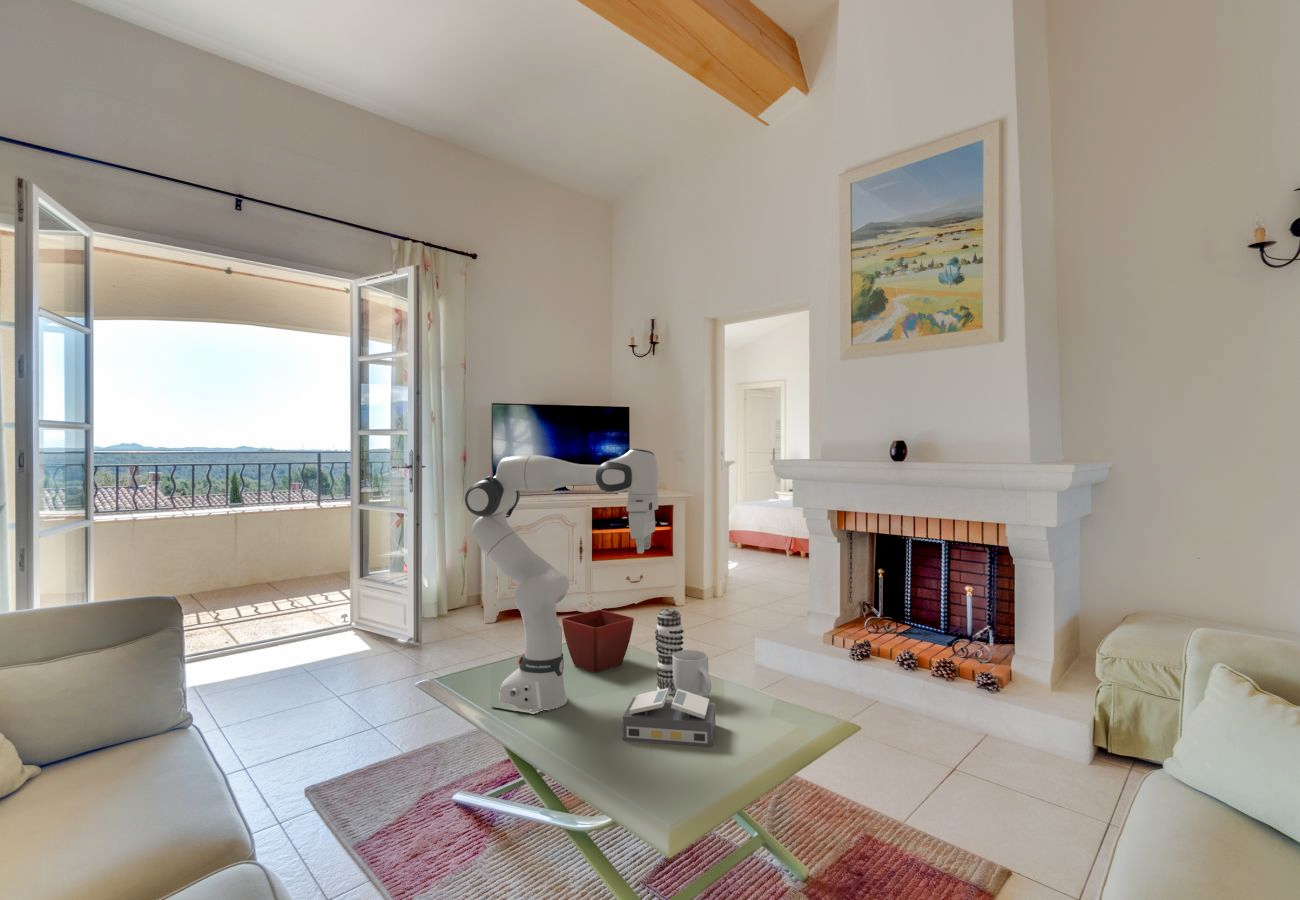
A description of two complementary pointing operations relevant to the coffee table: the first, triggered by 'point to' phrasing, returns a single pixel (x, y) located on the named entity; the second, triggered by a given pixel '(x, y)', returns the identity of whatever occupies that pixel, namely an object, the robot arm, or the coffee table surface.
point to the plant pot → (597, 639)
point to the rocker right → (690, 703)
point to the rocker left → (649, 701)
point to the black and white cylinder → (667, 646)
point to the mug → (691, 672)
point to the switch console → (669, 726)
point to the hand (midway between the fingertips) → (643, 551)
